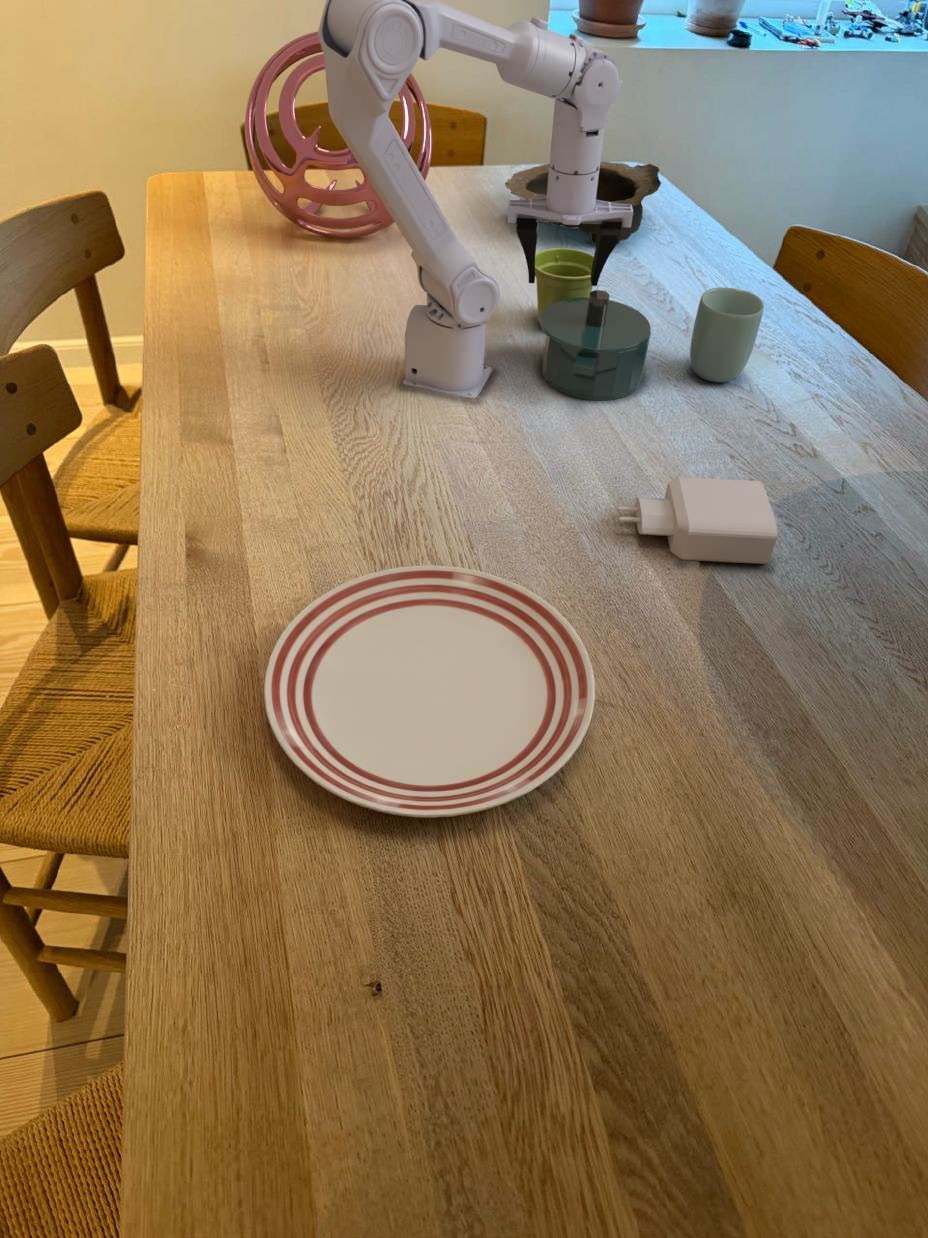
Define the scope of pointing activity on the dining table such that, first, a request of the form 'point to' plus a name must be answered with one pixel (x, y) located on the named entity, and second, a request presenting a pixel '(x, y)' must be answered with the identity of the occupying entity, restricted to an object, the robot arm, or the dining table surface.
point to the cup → (724, 333)
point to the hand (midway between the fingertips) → (562, 280)
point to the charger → (710, 520)
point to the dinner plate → (429, 691)
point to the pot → (593, 371)
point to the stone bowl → (613, 187)
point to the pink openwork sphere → (316, 156)
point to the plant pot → (562, 275)
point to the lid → (595, 324)
